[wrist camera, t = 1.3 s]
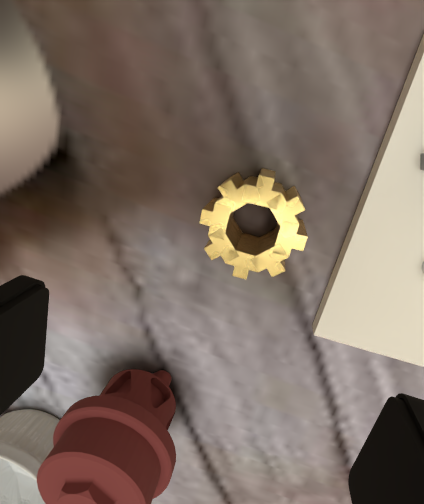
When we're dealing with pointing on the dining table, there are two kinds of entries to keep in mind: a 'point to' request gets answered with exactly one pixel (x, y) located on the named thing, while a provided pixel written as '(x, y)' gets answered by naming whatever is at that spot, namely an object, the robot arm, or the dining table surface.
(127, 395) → the mechanical component
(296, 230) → the brass gear
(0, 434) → the ramekin
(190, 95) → the dining table surface
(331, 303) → the gear board
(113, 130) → the dining table surface
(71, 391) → the dining table surface
